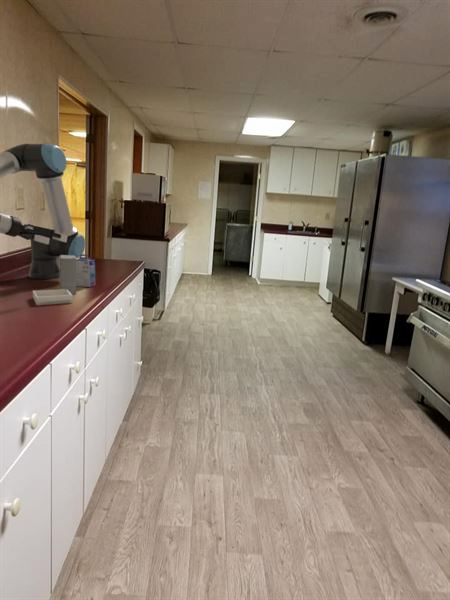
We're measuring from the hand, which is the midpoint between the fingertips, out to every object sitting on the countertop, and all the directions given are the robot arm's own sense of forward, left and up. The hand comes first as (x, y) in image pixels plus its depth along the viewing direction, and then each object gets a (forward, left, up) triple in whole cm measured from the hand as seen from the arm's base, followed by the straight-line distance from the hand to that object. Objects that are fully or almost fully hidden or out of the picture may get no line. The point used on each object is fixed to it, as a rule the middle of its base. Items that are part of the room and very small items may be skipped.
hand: (57, 240), depth 179 cm
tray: (+16, -5, -22) cm, 28 cm away
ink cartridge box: (-10, +12, -22) cm, 27 cm away
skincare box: (+4, +3, -22) cm, 23 cm away
